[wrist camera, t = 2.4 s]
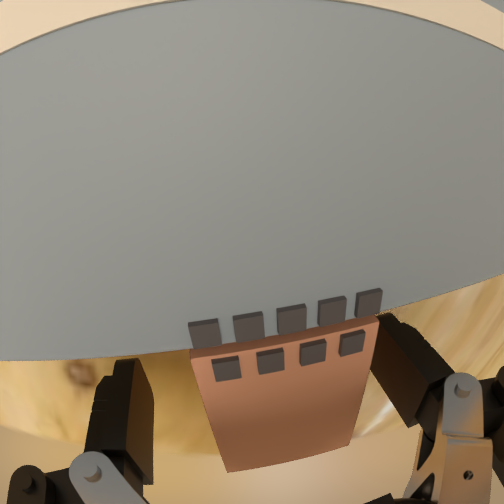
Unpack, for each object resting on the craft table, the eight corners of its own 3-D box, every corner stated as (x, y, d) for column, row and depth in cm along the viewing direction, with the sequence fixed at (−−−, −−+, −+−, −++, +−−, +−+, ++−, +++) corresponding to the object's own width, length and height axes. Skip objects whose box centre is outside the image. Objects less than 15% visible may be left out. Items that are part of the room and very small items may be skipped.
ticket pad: (443, 9, 9) (545, -6, 4) (448, 207, 13) (542, 261, 8) (-19, 44, 7) (-119, 31, 1) (18, 269, 11) (-53, 362, 5)
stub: (303, 232, 13) (382, 325, 7) (303, 346, 15) (350, 448, 10) (189, 249, 12) (190, 363, 6) (212, 363, 15) (227, 476, 9)
